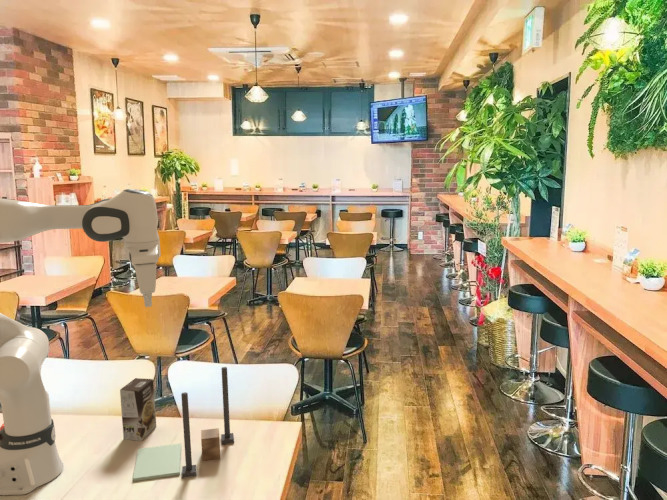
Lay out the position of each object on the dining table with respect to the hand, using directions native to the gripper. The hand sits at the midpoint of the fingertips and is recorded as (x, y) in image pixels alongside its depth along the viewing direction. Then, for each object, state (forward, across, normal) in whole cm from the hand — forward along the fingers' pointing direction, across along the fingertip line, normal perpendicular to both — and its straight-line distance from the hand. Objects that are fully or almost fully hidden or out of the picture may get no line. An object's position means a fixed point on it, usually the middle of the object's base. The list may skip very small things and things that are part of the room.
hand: (147, 301), depth 150 cm
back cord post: (+47, -3, +20) cm, 51 cm away
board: (+46, +2, -1) cm, 46 cm away
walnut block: (+47, +4, +14) cm, 49 cm away
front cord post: (+47, +10, +7) cm, 48 cm away
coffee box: (+47, -17, -5) cm, 50 cm away
